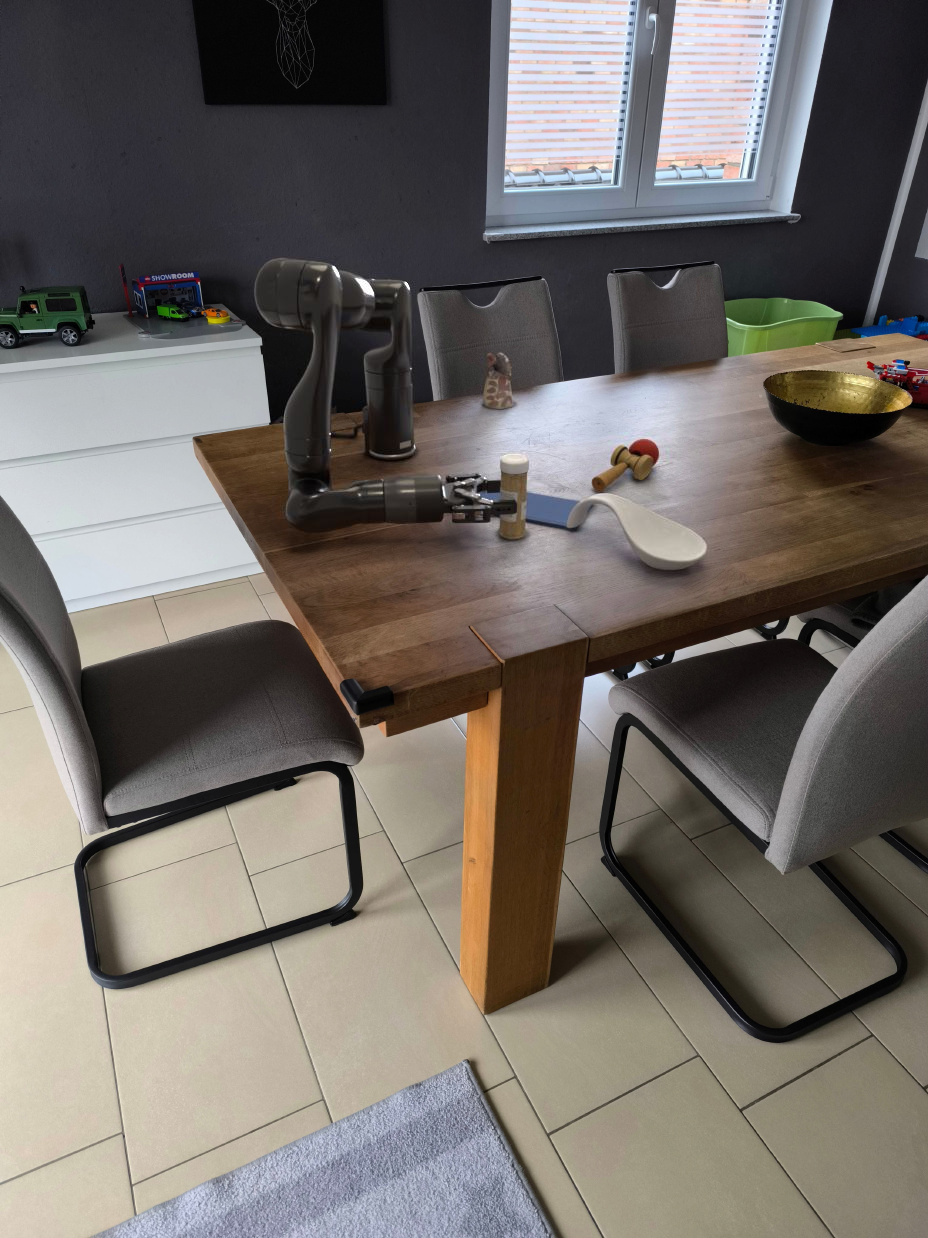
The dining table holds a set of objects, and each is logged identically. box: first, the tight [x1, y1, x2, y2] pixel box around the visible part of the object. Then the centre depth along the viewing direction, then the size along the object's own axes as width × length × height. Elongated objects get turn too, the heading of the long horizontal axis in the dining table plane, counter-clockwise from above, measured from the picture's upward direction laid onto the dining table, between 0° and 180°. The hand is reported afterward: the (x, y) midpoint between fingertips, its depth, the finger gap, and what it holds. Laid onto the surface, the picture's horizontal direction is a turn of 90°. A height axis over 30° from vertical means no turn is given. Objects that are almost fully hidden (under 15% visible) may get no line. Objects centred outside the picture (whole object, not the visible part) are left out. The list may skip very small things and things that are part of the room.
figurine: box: [482, 352, 514, 410], centre depth 194 cm, size 7×7×12 cm
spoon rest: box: [566, 492, 708, 571], centre depth 132 cm, size 24×12×7 cm, turn 48°
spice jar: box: [498, 453, 530, 540], centre depth 135 cm, size 5×5×13 cm
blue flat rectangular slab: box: [481, 491, 594, 531], centre depth 148 cm, size 24×11×1 cm, turn 66°
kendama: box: [591, 438, 660, 493], centre depth 158 cm, size 8×6×18 cm
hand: (512, 495), depth 135 cm, fingers open, 8 cm apart
